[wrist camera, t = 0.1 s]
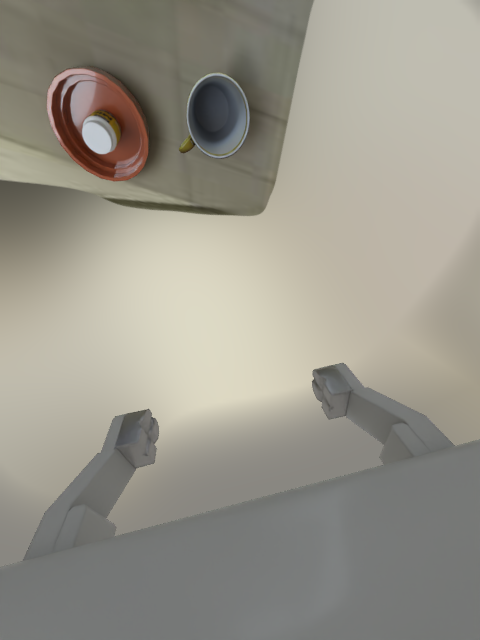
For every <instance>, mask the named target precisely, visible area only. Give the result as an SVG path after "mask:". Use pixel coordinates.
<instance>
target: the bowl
mask: <svg viewBox="0 0 480 640" xmlns="http://www.w3.org/2000/svg"><path fill="white" fill-rule="evenodd" d="M100 109H102V110H106V111H108V112H110V113H111V114H112V115H113V116H114V117H115V118H116V119H117V121H118V123H119V125H120V127H121V138H120V140H119V142H118V144H117V146H116V148H115V149H114V150H113V151H112V152H109V153H107V154H98V153H96V152H94V151H93V150H91V149H90V148H89V147H88V146H87V144H86V143H85V141H84V139H83V136H82V128H83V123H84V120H85V119H86V118H87V117H88V116H89V115H91V114H92V113H93V112H94V111H96V110H100ZM47 112H48V116H49V120H50V124H51V127H52V129H53V131H54V133H55V135H56V137H57V139H58V141H59V142H60V144H61V146H62V147H63V148H64V149H65V151H66V152H67V153H68V154H69V155H70V157H71V158H72V159H73V160H74V161H75V162H76V163H78V164H79V165H80V166H81V167H82V168H84V169H85V170H86V171H88V172H90V173H92V174H94V175H96V176H98V177H99V178H102V179H106V180H111V181H124V180H128V179H130V178H132V177H134V176H136V175H138V173H139V172H140V171H141V170H142V168H143V167H144V166H145V162H146V159H147V156H148V152H149V129H148V125H147V121H146V118H145V115H144V113H143V111H142V109H141V107H140V105H139V103H138V101H137V100H136V98H135V97H134V96H133V95H132V93H131V92H130V91H129V90H128V89H127V87H126V86H125V85H124V84H123V83H122V82H120V81H119V80H118V79H116V78H115V77H114V76H112V75H111V74H110V73H108V72H106V71H103V70H100V69H98V68H95V67H91V66H83V67H73V68H69V69H67V70H65V71H63V72H62V73H60V74H58V75H57V76H55V77H54V79H53V81H52V83H51V85H50V87H49V89H48V93H47Z"/></svg>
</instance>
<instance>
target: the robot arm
mask: <svg viewBox="0 0 480 640" xmlns="http://www.w3.org/2000/svg"><path fill="white" fill-rule="evenodd" d="M313 377H314V380H313V381H312V387H313V391H314V394H315V396H316V398H317V399H318V400H319V401H321V402H322V409H323V410H324V412H325V414H326V416H327V418H328V419H333V418H338V417H343V416H346V417H347V418H348V419H350V420H351V421H352V422H354V423H355V424H356V425H358V426H359V427H361V428H362V429H363V430H365V431H366V432H367V433H369V434H370V435H371V436H373V437H374V438H375V439H377V440H378V441H380V442H381V443H382V444H384V447H383V450H382V452H381V454H380V459H381V460H382V462H383V464H384V465H382V466H378V467H374V468H370V469H367V470H363V471H359V472H355V473H351V474H348V475H344V476H340V477H336V478H333V479H329V480H325V481H322V482H318V483H314V484H310V485H306V486H302V487H299V488H295V489H291V490H287V491H284V492H280V493H276V494H273V495H269V496H265V497H262V498H257V499H254V500H250V501H246V502H242V503H239V504H235V505H231V506H227V507H224V508H220V509H216V510H212V511H208V512H205V513H201V514H197V515H194V516H190V517H186V518H182V519H178V520H175V521H171V522H168V523H163V524H160V525H156V526H152V527H148V528H145V529H141V530H137V531H133V532H130V533H126V534H122V535H119V536H115V537H114V535H115V531H116V526H115V524H114V523H112V522H111V521H109V520H108V519H106V518H107V516H108V515H109V513H110V511H111V510H112V508H113V506H114V505H115V503H116V501H117V500H118V498H119V497H120V495H121V493H122V492H123V490H124V488H125V487H126V485H127V483H128V482H129V480H130V478H131V477H132V475H133V474H134V472H135V470H136V468H139V467H143V466H146V465H150V464H154V462H155V456H156V449H157V448H156V446H155V445H154V444H155V442H156V441H157V439H158V436H159V426H158V423H157V421H156V419H155V418H153V417H151V416H152V413H151V411H150V410H149V409H147V410H143V411H138V412H133V413H128V414H124V415H119V416H115V418H114V419H113V420H112V423H111V426H110V429H109V431H108V434H107V437H106V440H105V443H104V445H103V448H102V451H101V453H98V454H97V455H96V456H95V457H94V458H93V459H92V460H91V461H90V462H89V464H88V465H87V466H86V467H85V468H84V469H83V470H82V471H81V473H80V474H79V475H78V476H77V477H76V478H75V479H74V481H73V482H72V483H71V484H70V485H69V486H68V487H67V488H66V490H65V491H64V492H63V493H62V494H61V495H60V496H59V497H58V498H57V500H56V501H55V502H54V503H53V504H52V505H51V506H50V507H49V509H48V510H47V511H46V512H45V513H44V516H43V518H42V520H41V522H40V524H39V527H38V529H37V531H36V533H35V535H34V537H33V539H32V542H31V544H30V546H29V548H28V550H27V552H26V555H25V557H24V559H23V561H21V562H17V563H13V564H10V565H6V566H2V567H0V640H480V439H479V440H475V441H472V442H468V443H464V444H461V445H457V446H455V445H453V443H452V442H451V441H450V440H449V439H448V438H447V437H446V436H445V435H444V434H443V433H442V432H441V431H440V430H439V429H438V428H437V427H436V426H435V425H434V424H433V423H432V422H431V421H430V420H429V419H428V418H427V417H426V416H425V415H423V414H421V413H419V412H417V411H415V410H413V409H411V408H409V407H407V406H405V405H403V404H401V403H399V402H397V401H395V400H393V399H391V398H389V397H387V396H385V395H382V394H380V393H378V392H376V391H374V390H372V389H370V388H364V386H363V385H362V384H361V383H360V381H359V380H358V379H357V378H356V377H355V375H354V374H353V373H352V372H351V370H350V369H349V368H348V367H347V366H346V364H344V363H340V364H335V365H331V366H327V367H323V368H319V369H315V370H313Z"/></svg>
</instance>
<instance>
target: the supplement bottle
mask: <svg viewBox="0 0 480 640" xmlns="http://www.w3.org/2000/svg"><path fill="white" fill-rule="evenodd" d="M82 136H83V139H84V141H85V143H86V144H87V146H88V147H89V148H90V149H91V150H93V151H94V152H96V153H98V154H107V153H109V152H112V151H113V150H114V149H115V148H116V146H117V144H118V142H119V140H120V138H121V127H120V125H119V123H118V121H117V119H116V118H115V117H114V116H113V115H112V114H111V113H110V112H108V111H106V110H102V109H100V110H96V111H94V112H93V113H92V114H91V115H89V116H88V117H87V118H86V119H85V120H84V123H83V128H82Z"/></svg>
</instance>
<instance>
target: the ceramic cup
mask: <svg viewBox="0 0 480 640" xmlns="http://www.w3.org/2000/svg"><path fill="white" fill-rule="evenodd" d="M186 118H187V125H188V129H189V133H190V135H189V136H188V137H187V139H186V140H185V141H184V142H183V143H182V145H181V146H180V148H179V151H180V152H181V153H186V152H188V151H189V150H191V149H192V148H193V147H194V146H195V145H196V146H197V147H198V148H199V149H200V150H201V151H202V152H203V153H204V154H206V155H208V156H210V157H212V158H218V159H222V158H227V157H229V156H231V155H233V154H234V153H236V152H237V151H238V150H239V149H240V147H241V146H242V145H243V143H244V141H245V139H246V137H247V134H248V130H249V123H250V112H249V106H248V102H247V99H246V96H245V94H244V92H243V90H242V88H241V87H240V86H239V84H238V83H237V82H236V81H235V80H234V79H232V78H231V77H229V76H228V75H225V74H222V73H211V74H208V75H206V76H204V77H202V78H201V79H200V80H199V81H198V82H197V83H196V84H195V86H194V87H193V89H192V90H191V93H190V95H189V98H188V102H187V109H186Z"/></svg>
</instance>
